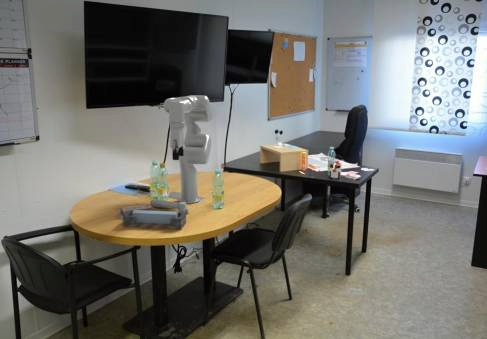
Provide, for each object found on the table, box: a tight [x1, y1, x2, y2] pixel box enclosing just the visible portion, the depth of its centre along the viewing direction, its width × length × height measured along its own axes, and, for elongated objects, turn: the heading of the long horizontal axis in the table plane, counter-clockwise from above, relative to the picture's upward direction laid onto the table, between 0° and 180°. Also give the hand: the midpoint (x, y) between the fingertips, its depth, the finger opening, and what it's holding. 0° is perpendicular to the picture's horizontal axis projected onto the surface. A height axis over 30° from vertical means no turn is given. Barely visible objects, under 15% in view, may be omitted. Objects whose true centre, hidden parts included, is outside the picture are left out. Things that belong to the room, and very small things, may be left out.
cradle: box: [122, 210, 187, 231], centre depth 211 cm, size 29×10×6 cm, turn 84°
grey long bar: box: [149, 199, 190, 215], centre depth 233 cm, size 5×7×25 cm
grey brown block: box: [117, 203, 155, 220], centre depth 226 cm, size 18×5×10 cm
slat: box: [132, 210, 179, 224], centre depth 211 cm, size 22×4×5 cm, turn 84°
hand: (178, 157), depth 221 cm, fingers open, 9 cm apart
